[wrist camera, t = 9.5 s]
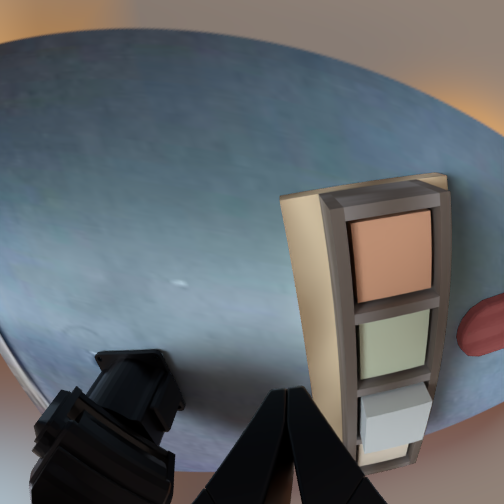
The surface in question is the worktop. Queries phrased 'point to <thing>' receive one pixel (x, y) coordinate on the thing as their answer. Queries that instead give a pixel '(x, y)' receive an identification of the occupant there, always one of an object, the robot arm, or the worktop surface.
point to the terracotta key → (390, 254)
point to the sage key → (391, 344)
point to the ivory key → (379, 454)
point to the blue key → (393, 417)
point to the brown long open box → (344, 301)
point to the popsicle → (483, 327)
